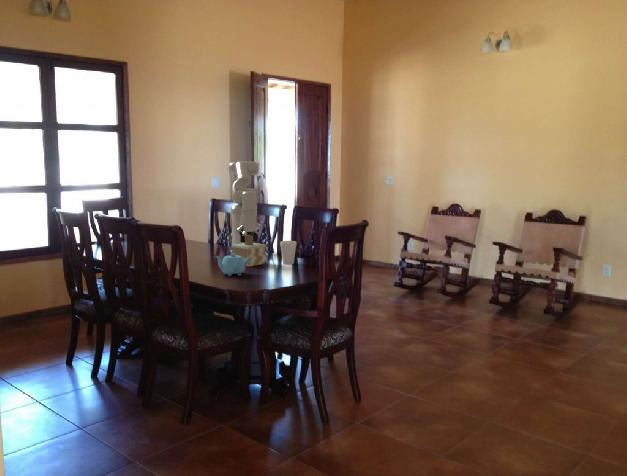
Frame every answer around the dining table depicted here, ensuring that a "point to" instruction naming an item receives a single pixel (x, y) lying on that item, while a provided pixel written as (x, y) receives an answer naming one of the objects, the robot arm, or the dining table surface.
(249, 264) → the box
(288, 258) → the foam cup
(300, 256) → the dining table surface
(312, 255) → the dining table surface
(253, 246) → the lid
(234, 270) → the teapot
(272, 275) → the dining table surface
